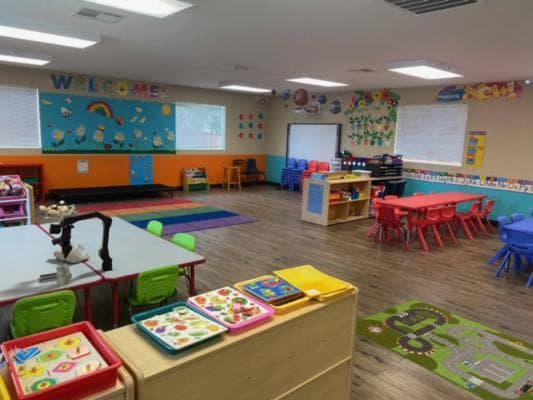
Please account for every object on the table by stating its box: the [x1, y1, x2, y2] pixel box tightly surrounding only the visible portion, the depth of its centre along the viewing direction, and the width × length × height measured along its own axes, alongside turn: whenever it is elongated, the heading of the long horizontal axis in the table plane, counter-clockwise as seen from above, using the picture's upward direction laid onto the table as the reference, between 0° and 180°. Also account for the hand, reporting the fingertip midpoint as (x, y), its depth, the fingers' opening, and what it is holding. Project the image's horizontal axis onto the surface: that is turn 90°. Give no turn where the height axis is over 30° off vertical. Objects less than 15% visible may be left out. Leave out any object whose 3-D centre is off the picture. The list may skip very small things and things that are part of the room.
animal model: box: [53, 243, 91, 264], centre depth 300 cm, size 13×26×16 cm
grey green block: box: [55, 264, 71, 287], centre depth 254 cm, size 6×4×12 cm, turn 151°
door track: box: [39, 269, 73, 284], centre depth 265 cm, size 18×10×2 cm, turn 126°
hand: (64, 256), depth 267 cm, fingers open, 9 cm apart
